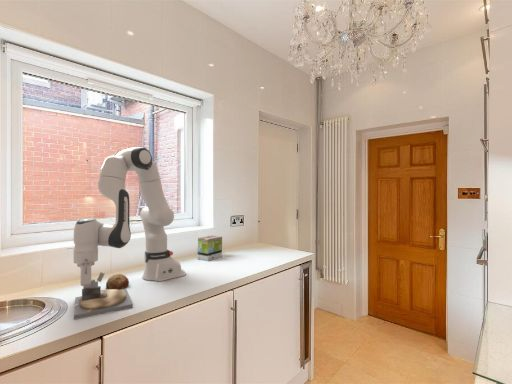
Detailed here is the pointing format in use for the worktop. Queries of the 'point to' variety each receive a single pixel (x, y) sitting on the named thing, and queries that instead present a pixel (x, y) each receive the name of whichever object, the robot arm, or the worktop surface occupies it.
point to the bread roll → (117, 282)
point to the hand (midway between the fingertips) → (85, 290)
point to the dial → (100, 297)
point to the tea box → (209, 248)
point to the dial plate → (84, 312)
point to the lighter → (95, 283)
